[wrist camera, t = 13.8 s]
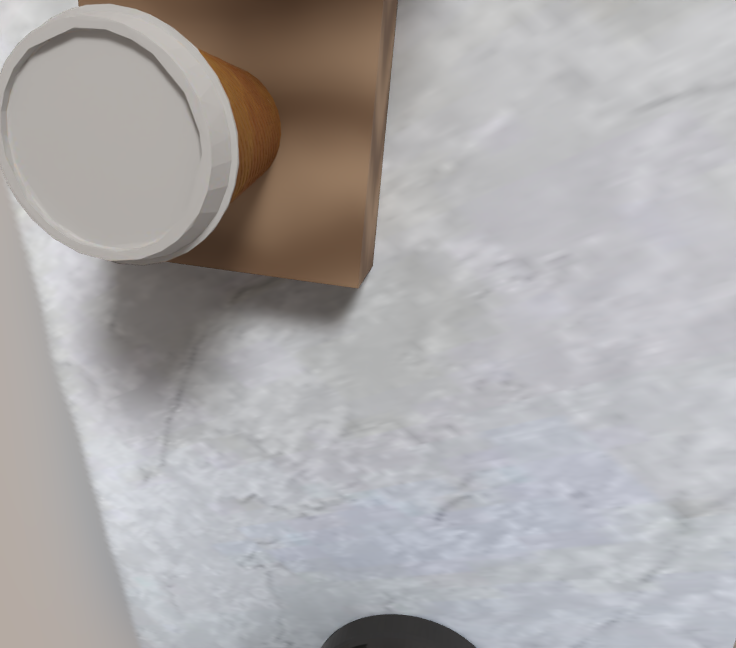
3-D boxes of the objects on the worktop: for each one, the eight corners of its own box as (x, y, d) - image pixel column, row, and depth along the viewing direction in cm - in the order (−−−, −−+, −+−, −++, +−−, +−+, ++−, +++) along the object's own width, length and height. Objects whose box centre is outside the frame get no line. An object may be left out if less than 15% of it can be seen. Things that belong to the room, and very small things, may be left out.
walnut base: (372, 265, 41) (358, 288, 36) (137, 234, 43) (95, 251, 38) (399, -17, 35) (386, -33, 30) (125, -38, 37) (74, -55, 32)
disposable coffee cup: (224, 249, 37) (110, 319, 25) (107, 115, 35) (-68, 127, 24) (348, 140, 33) (279, 165, 22) (225, -14, 32) (85, -69, 21)
